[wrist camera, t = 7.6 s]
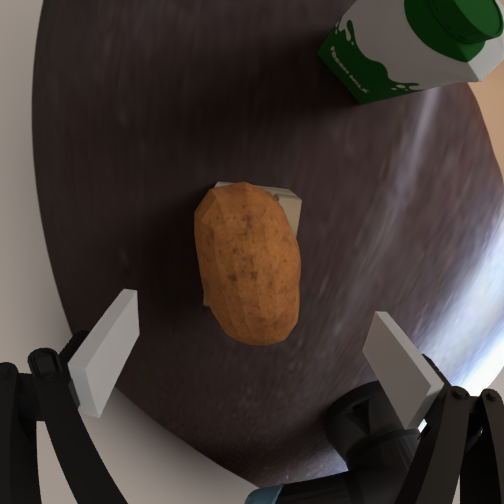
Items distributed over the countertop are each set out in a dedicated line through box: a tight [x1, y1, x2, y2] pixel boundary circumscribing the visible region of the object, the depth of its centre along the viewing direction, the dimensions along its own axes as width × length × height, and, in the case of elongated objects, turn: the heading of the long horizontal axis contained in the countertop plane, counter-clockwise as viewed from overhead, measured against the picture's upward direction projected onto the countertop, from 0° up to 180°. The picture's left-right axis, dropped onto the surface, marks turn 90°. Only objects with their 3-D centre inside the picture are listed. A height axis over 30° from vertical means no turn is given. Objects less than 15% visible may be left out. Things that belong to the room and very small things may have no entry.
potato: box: [194, 182, 301, 346], centre depth 21 cm, size 7×13×7 cm, turn 8°
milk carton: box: [317, 0, 504, 105], centre depth 16 cm, size 9×9×20 cm
